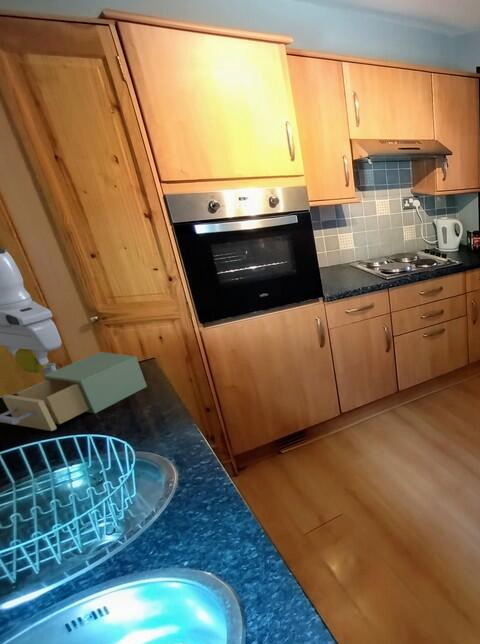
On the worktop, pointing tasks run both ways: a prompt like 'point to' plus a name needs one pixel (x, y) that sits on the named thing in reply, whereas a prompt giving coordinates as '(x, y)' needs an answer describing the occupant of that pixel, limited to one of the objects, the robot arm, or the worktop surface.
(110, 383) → the cabinet
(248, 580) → the worktop surface
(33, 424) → the drawer
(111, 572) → the worktop surface
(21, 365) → the lemon
